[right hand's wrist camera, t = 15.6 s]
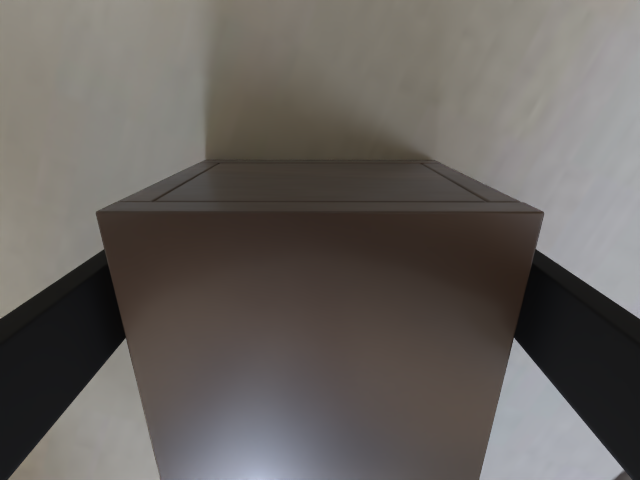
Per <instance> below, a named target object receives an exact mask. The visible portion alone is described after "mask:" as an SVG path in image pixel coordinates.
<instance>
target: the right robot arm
mask: <svg viewBox="0 0 640 480" xmlns="http://www.w3.org/2000/svg"><path fill="white" fill-rule="evenodd" d="M125 338H126V336H125V332H124V327H123V323H122V319H121V315H120V311H119V307H118V303H117V299H116V294H115V290H114V286H113V282H112V278H111V274H110V270H109V266H108V261H107V257H106V253H105V249H104V250H102V251H101V252H99V253H98V254H96V255H95V256H93V257H92V258H90V259H89V260H87V261H86V262H85V263H83V264H82V265H80V266H79V267H77V268H76V269H74V270H73V271H71V272H70V273H68V274H67V275H65V276H64V277H62V278H61V279H59V280H58V281H56V282H55V283H53V284H52V285H50V286H49V287H47V288H46V289H44V290H43V291H41V292H40V293H38V294H37V295H35V296H34V297H32V298H31V299H29V300H28V301H26V302H25V303H23V304H22V305H21V306H19V307H18V308H16V309H15V310H13V311H12V312H10V313H9V314H7V315H6V316H4V317H3V318H1V319H0V480H8V479H9V477H10V476H11V475H12V474H13V473H14V471H15V470H16V469H17V468H18V467H19V465H20V464H21V463H22V462H23V461H24V459H25V458H26V457H27V456H28V455H29V453H30V452H31V451H32V450H33V449H34V447H35V446H36V445H37V444H38V443H39V441H40V440H41V439H42V438H43V436H44V435H45V434H46V433H47V432H48V430H49V429H50V428H51V427H52V426H53V424H54V423H55V422H56V421H57V420H58V418H59V417H60V416H61V415H62V414H63V412H64V411H65V410H66V409H67V408H68V406H69V405H70V404H71V403H72V402H73V400H74V399H75V398H76V397H77V396H78V394H79V393H80V392H81V391H82V390H83V388H84V387H85V386H86V385H87V384H88V382H89V381H90V380H91V379H92V378H93V376H94V375H95V374H96V373H97V372H98V370H99V369H100V368H101V367H102V366H103V364H104V363H105V362H106V361H107V360H108V358H109V357H110V356H111V355H112V354H113V352H114V351H115V350H116V349H117V348H118V346H119V345H120V344H121V343H122V342H123V340H124V339H125ZM514 338H515V339H516V340H517V342H518V343H519V344H520V345H521V346H522V348H523V349H524V350H525V351H526V352H527V354H528V355H529V356H530V357H531V358H532V360H533V361H534V362H535V363H536V364H537V366H538V367H539V368H540V369H541V370H542V372H543V373H544V374H545V375H546V376H547V378H548V379H549V380H550V381H551V382H552V384H553V385H554V386H555V387H556V388H557V390H558V391H559V392H560V393H561V394H562V396H563V397H564V398H565V399H566V400H567V402H568V403H569V404H570V405H571V406H572V408H573V409H574V410H575V411H576V412H577V414H578V415H579V416H580V417H581V418H582V420H583V421H584V422H585V423H586V424H587V426H588V427H589V428H590V429H591V430H592V432H593V433H594V434H595V435H596V436H597V438H598V439H599V440H600V441H601V443H602V444H603V445H604V446H605V447H606V449H607V450H608V451H609V452H610V453H611V455H612V456H613V457H614V458H615V459H616V461H617V462H618V463H619V464H620V465H621V467H622V468H623V469H624V470H625V471H626V473H627V474H628V475H629V476H630V477H631V479H632V480H640V319H639V318H637V317H636V316H634V315H633V314H631V313H630V312H628V311H627V310H625V309H624V308H622V307H621V306H619V305H618V304H617V303H615V302H614V301H612V300H611V299H609V298H608V297H606V296H605V295H603V294H602V293H600V292H599V291H597V290H596V289H594V288H593V287H591V286H590V285H588V284H587V283H585V282H584V281H582V280H581V279H579V278H578V277H576V276H575V275H573V274H572V273H570V272H569V271H567V270H566V269H564V268H563V267H561V266H560V265H558V264H557V263H555V262H554V261H553V260H551V259H550V258H548V257H547V256H545V255H544V254H542V253H541V252H539V251H538V250H536V249H535V253H534V257H533V261H532V265H531V269H530V273H529V278H528V282H527V286H526V290H525V294H524V298H523V302H522V306H521V310H520V314H519V318H518V322H517V326H516V331H515V335H514Z"/></svg>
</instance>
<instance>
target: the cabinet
mask: <svg viewBox="0 0 640 480" xmlns="http://www.w3.org/2000/svg"><path fill="white" fill-rule="evenodd" d="M96 216H97V220H98V224H99V229H100V233H101V237H102V241H103V245H104V249H105V253H106V257H107V261H108V266H109V270H110V274H111V278H112V282H113V286H114V290H115V294H116V299H117V303H118V307H119V311H120V315H121V319H122V323H123V327H124V332H125V336H126V340H127V344H128V348H129V352H130V356H131V360H132V364H133V369H134V373H135V377H136V381H137V385H138V389H139V393H140V397H141V402H142V406H143V410H144V414H145V418H146V422H147V426H148V430H149V434H150V439H151V443H152V447H153V451H154V455H155V459H156V463H157V467H158V472H159V476H160V480H479V477H480V473H481V469H482V465H483V461H484V457H485V453H486V449H487V445H488V441H489V437H490V432H491V428H492V424H493V420H494V416H495V412H496V408H497V404H498V400H499V396H500V392H501V388H502V384H503V379H504V375H505V371H506V367H507V363H508V359H509V355H510V351H511V347H512V343H513V339H514V335H515V331H516V326H517V322H518V318H519V314H520V310H521V306H522V302H523V298H524V294H525V290H526V286H527V282H528V278H529V273H530V269H531V265H532V261H533V257H534V253H535V249H536V245H537V241H538V237H539V233H540V229H541V225H542V220H543V216H544V212H543V211H541V210H538V209H536V208H534V207H532V206H530V205H528V204H526V203H524V202H520V201H518V200H516V199H514V198H512V197H510V196H508V195H505V194H503V193H501V192H499V191H497V190H495V189H493V188H491V187H489V186H487V185H485V184H483V183H480V182H478V181H476V180H474V179H472V178H470V177H468V176H466V175H464V174H462V173H460V172H458V171H455V170H453V169H451V168H449V167H447V166H445V165H443V164H441V163H439V162H437V161H435V160H204V161H202V162H200V163H198V164H196V165H193V166H191V167H189V168H187V169H185V170H183V171H181V172H179V173H177V174H174V175H172V176H170V177H168V178H166V179H164V180H162V181H160V182H158V183H156V184H153V185H151V186H149V187H147V188H145V189H143V190H141V191H139V192H137V193H135V194H132V195H130V196H128V197H126V198H124V199H122V200H120V201H118V202H115V203H113V204H111V205H109V206H107V207H105V208H103V209H101V210H98V211H96Z"/></svg>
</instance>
